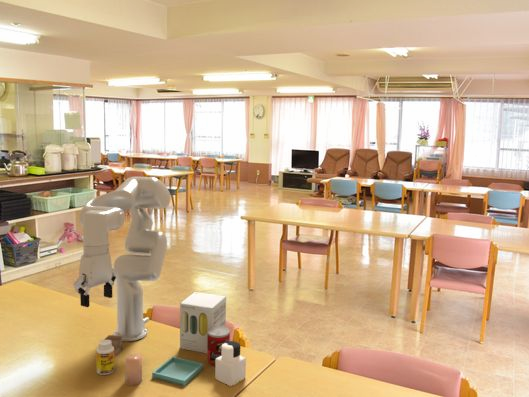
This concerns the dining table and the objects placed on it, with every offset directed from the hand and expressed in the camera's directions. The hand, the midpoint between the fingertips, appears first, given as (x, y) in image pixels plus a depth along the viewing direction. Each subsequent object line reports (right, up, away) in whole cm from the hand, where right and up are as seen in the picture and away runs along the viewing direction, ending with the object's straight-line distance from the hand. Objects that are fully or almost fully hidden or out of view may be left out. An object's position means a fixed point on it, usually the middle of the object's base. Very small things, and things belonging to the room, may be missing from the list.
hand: (96, 301), depth 151 cm
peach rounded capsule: (+13, -25, -2) cm, 28 cm away
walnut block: (0, -22, +17) cm, 27 cm away
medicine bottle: (+43, -25, +1) cm, 50 cm away
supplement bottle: (+2, -24, +3) cm, 24 cm away
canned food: (+38, -24, +13) cm, 46 cm away
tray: (+26, -24, +3) cm, 35 cm away
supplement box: (+31, -22, +25) cm, 45 cm away
